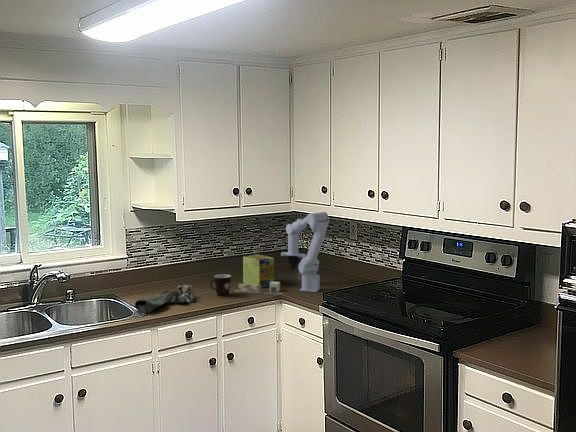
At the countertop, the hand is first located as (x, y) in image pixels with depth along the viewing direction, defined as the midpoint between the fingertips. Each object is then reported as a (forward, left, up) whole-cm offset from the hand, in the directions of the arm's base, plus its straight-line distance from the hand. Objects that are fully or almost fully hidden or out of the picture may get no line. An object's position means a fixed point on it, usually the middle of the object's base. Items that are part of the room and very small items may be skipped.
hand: (293, 269), depth 346 cm
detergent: (+52, +60, -9) cm, 80 cm away
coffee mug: (+31, +32, -9) cm, 45 cm away
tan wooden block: (+18, +22, -8) cm, 30 cm away
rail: (+13, +22, -8) cm, 27 cm away
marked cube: (+6, +16, -8) cm, 19 cm away
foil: (+44, +47, -9) cm, 65 cm away
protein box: (+19, +4, -9) cm, 21 cm away
